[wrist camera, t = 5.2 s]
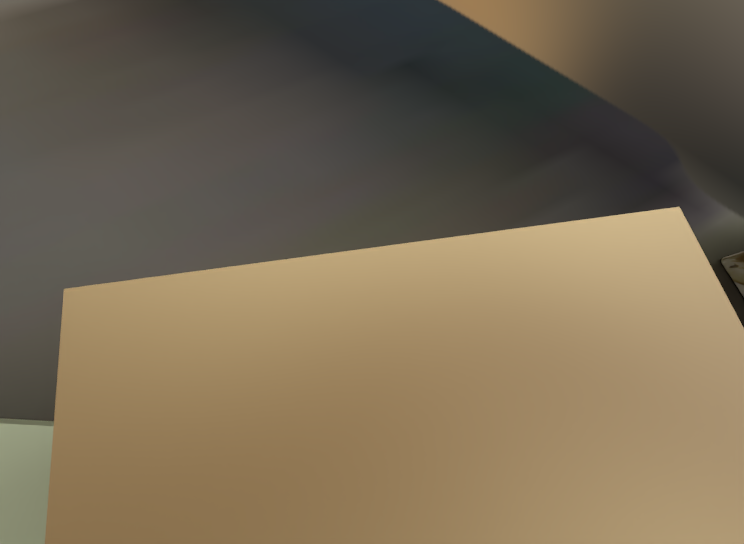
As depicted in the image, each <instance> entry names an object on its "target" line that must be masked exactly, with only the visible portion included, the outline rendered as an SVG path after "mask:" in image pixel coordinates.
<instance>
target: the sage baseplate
mask: <svg viewBox="0 0 744 544" xmlns="http://www.w3.org/2000/svg"><path fill="white" fill-rule="evenodd" d="M53 428H54V421H40V420H22V419H4V418H0V544H45V533H46V520H47V507H48V493H49V480H50V467H51V454H52V441H53Z"/></svg>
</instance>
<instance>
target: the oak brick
mask: <svg viewBox="0 0 744 544" xmlns="http://www.w3.org/2000/svg"><path fill="white" fill-rule="evenodd" d="M45 544H744V327H743V326H742V324H741V322H740V320H739V318H738V316H737V314H736V312H735V310H734V309H733V307H732V305H731V303H730V301H729V299H728V297H727V295H726V294H725V292H724V290H723V288H722V286H721V284H720V282H719V280H718V278H717V277H716V275H715V273H714V271H713V269H712V267H711V265H710V263H709V262H708V260H707V258H706V256H705V254H704V252H703V250H702V248H701V246H700V245H699V243H698V241H697V239H696V237H695V235H694V233H693V231H692V230H691V228H690V226H689V224H688V222H687V220H686V218H685V216H684V215H683V213H682V211H681V209H680V207H674V208H667V209H659V210H652V211H644V212H637V213H629V214H622V215H614V216H607V217H599V218H592V219H584V220H577V221H569V222H562V223H554V224H547V225H539V226H532V227H524V228H517V229H509V230H502V231H494V232H487V233H479V234H472V235H464V236H457V237H449V238H442V239H434V240H427V241H419V242H412V243H404V244H397V245H389V246H382V247H374V248H367V249H359V250H352V251H345V252H337V253H330V254H322V255H315V256H307V257H300V258H292V259H285V260H277V261H270V262H262V263H255V264H247V265H240V266H232V267H225V268H217V269H210V270H202V271H195V272H187V273H180V274H172V275H165V276H157V277H150V278H142V279H135V280H127V281H120V282H112V283H105V284H97V285H90V286H82V287H75V288H67V289H64V296H63V309H62V322H61V336H60V349H59V362H58V375H57V388H56V401H55V414H54V428H53V441H52V454H51V467H50V480H49V493H48V507H47V520H46V533H45Z"/></svg>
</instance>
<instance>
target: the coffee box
mask: <svg viewBox="0 0 744 544" xmlns="http://www.w3.org/2000/svg"><path fill="white" fill-rule="evenodd" d="M721 263H722V265H723V266H724V268H725V269H726V271H727V272H728V274H729V275H730V277H731V278H732V280H733V281H734V283H735V284H736V286H737V287H738V289H739V291H740V292H741V294H742V295H743V297H744V251H743V252H740V253H736V254H733V255H730V256H727V257H724V258H722V260H721Z"/></svg>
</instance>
